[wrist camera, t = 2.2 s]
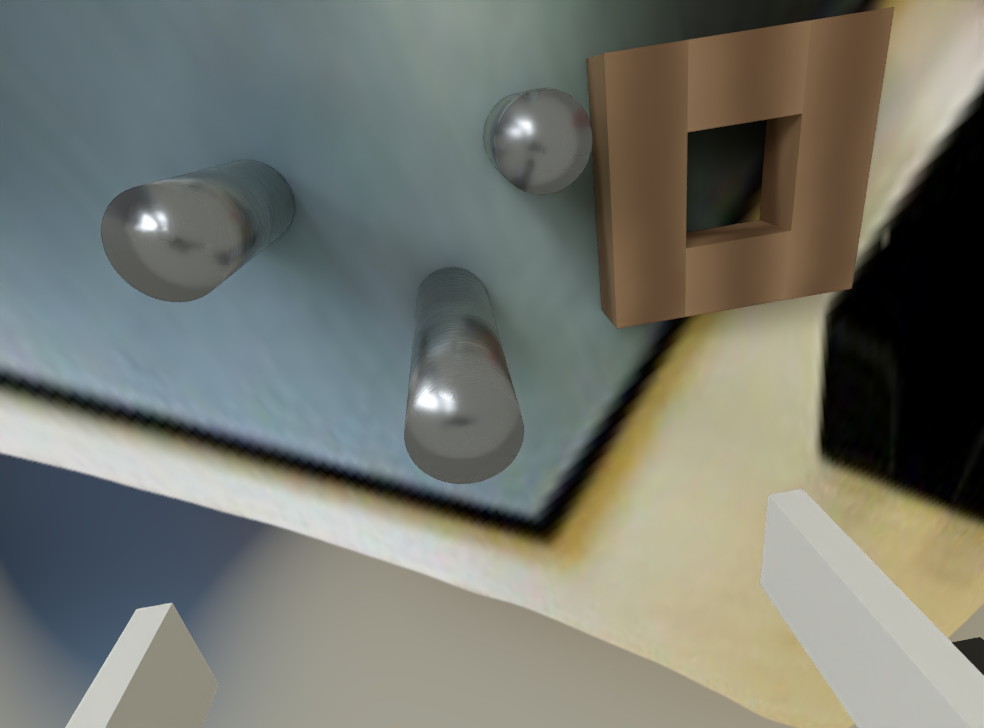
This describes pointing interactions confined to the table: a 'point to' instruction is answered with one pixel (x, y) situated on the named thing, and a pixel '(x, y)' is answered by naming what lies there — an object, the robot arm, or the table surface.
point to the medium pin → (195, 228)
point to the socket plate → (786, 168)
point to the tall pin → (459, 384)
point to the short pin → (538, 139)
